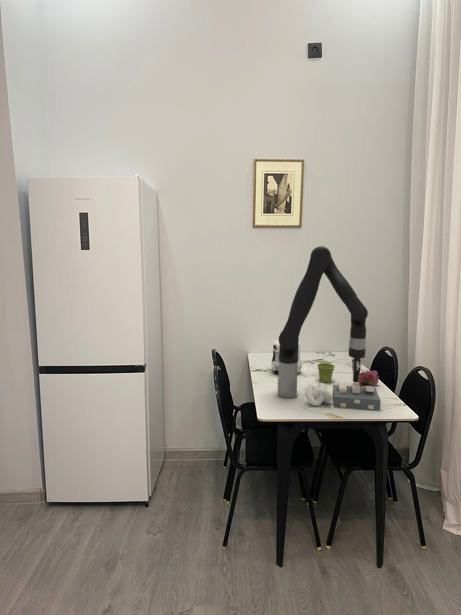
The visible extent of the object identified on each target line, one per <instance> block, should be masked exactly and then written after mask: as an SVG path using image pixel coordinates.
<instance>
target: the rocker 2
mask: <svg viewBox="0 0 461 615" xmlns="http://www.w3.org/2000/svg"><path fill="white" fill-rule="evenodd" d="M350 386H351V387H352V392H353V393H360V383H358V382H357V383H356V382H351V384H350Z"/></svg>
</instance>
